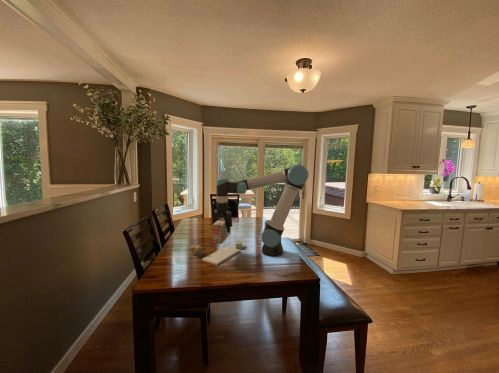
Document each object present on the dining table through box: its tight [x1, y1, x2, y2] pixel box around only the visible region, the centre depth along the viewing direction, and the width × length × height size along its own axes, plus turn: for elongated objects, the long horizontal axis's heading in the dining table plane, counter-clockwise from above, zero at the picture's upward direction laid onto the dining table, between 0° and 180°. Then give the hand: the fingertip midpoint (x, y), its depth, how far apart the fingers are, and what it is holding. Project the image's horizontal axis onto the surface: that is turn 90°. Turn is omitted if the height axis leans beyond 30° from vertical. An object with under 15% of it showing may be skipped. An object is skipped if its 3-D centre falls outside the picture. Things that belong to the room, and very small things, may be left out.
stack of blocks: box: [212, 219, 231, 245], centre depth 152 cm, size 21×6×12 cm, turn 170°
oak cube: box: [189, 244, 201, 256], centre depth 157 cm, size 5×5×5 cm
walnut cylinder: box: [198, 245, 206, 259], centre depth 153 cm, size 4×4×6 cm
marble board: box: [201, 246, 241, 266], centre depth 154 cm, size 12×26×1 cm, turn 149°
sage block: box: [235, 240, 243, 250], centre depth 170 cm, size 4×7×4 cm, turn 179°
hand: (222, 235), depth 152 cm, fingers closed on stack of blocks, 8 cm apart
